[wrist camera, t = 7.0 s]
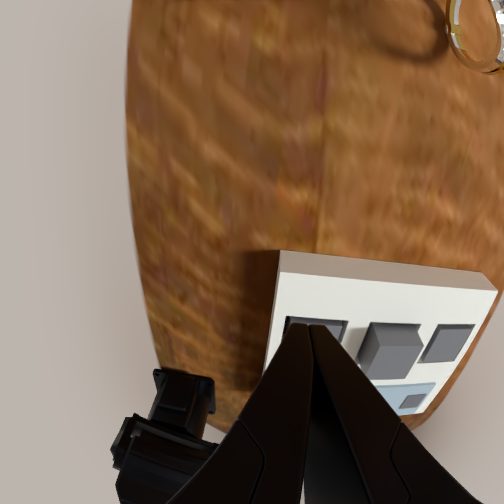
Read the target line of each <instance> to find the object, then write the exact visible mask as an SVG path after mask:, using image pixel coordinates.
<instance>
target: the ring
mask: <svg viewBox="0 0 504 504" xmlns="http://www.w3.org/2000/svg"><path fill="white" fill-rule="evenodd" d="M488 2H489V4H490V7H491V10H492V12H493V15H494V19H495V23H496V27H497V44H496V47H495V49H494V51H493V52H492V54H491V55H490V56H489V57H487V58H486V59H484V60H482V61H478V62H476V61H474V60H473V59H472V58H471V57H470V56H469V55H468V54H467V52H466V51H465V49H464V47H463V45H462V42H461V39H460V36H461V27H460V26H459V25H458V13H459V7H460V3H461V0H447V2H446V13H445V20H446V24H444V31H445V34H447V37H448V41H449V44H450V47H451V49H452V51H453V53H454V55H455V56H456V58H457V59H458V60H459V61H460V62H461V63H462V64H463V65H464V66H466V67H468V68H470V69H472V70H474V71H477V72H480V73H482V74H486V75H499V74H502V73H504V0H488Z"/></svg>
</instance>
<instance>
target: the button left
mask: <svg viewBox="0 0 504 504" xmlns="http://www.w3.org/2000/svg"><path fill="white" fill-rule="evenodd" d="M293 322H297V323H306V324H308V325H309V324H322V325H325V326H326V327H327V328H328V329H329V330H330V332H331V333H332V334H333V335H334V337H335V338H336V339H337V340H338V338H339V335H340V332H341V329H342V322H341V320H333V319H319V318H307V317H296V316H287V319H286V325H285V330H284V336H285V334H286V332H287V330H288V328H289V326H290V325H291V323H293Z"/></svg>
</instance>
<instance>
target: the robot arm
mask: <svg viewBox="0 0 504 504" xmlns="http://www.w3.org/2000/svg"><path fill="white" fill-rule="evenodd" d="M153 377H154V381H155V385H156V388H157V395H156V397H155V400H154V402H153V405H152V408H151V410H150V413H149V415H148V418H147V419H145V418H143V417H141V416H139V415H138V414H136V413H134V414H133V417H125V420H124V422H123V425H122V427H121V429H120V431H119V433H118V435H117V437H116V439H115V441H114V442H113V444H112V446H111V449H110V451H111V453H112V455H113V461H114V464H113V468H115V469H117V470H119V471H120V472H119V475H118V478H117V481H116V484H115V485H116V490H117V494H118V497H119V501H120V504H300V499H301V492H302V485H303V478H304V496H305V504H483V503H481V502H480V501H478V500H477V499H476V498H474V497H473V496H472V495H471V494H470V493H469V492H468V491H467V490H466V489H465V488H464V487H463V486H462V485H461V484H460V483H458V481H457V480H456V479H455V478H454V477H453V476H451V474H449V472H448V471H447V470H445V468H444V467H442V466H441V465H440V464H439V463H438V461H437V460H436V459H435V458H434V457H433V456H432V455H431V454H430V453H429V452H428V451H427V450H426V449H425V448H424V446H423V445H422V444H421V443H420V442H419V440H418V439H417V438H416V437H415V436H414V435H413V433H412V432H411V431H410V429H409V428H408V427H407V426H406V424H405V423H404V422H401V421H402V420H401V418H400V417H399V416H398V415H397V413H396V412H395V411H394V410H393V408H392V407H391V406H390V405H389V403H388V402H387V401H386V400H385V398H384V397H383V396H382V395H381V393H380V392H379V391H378V390H377V388H376V387H375V386H374V385H373V383H372V382H371V381H370V380H369V378H368V377H367V376H366V375H365V374H364V372H363V371H362V370H361V369H360V367H359V366H358V365H357V364H356V362H355V361H354V360H353V359H352V357H351V356H350V355H349V354H348V352H347V351H346V350H345V349H344V348H343V346H342V345H341V344H340V343H339V341H338V340H337V339H336V338H335V337H334V335H333V334H332V333H331V332H330V330H329V329H328V328H327V327H326V326H325V325H322V324H309V325H308V324H306V323H297V322H293V323H291V325H290V326H289V328H288V330H287V332H286V334H285V336H284V338H283V339H282V341H281V343H280V345H279V347H278V349H277V350H276V352H275V354H274V356H273V358H272V359H271V361H270V363H269V365H268V367H267V368H266V370H265V372H264V374H263V375H262V377H261V379H260V381H259V382H258V384H257V386H256V387H255V389H254V391H253V393H252V394H251V396H250V398H249V399H248V401H247V403H246V404H245V406H244V408H243V409H242V411H241V413H240V414H239V416H238V417H237V420H236V421H235V422H234V423H233V425H232V427H231V428H230V430H229V431H228V433H227V434H226V436H225V437H224V439H223V440H222V442H221V443H220V444H217V443H211V442H208V441H204V440H202V437H203V433H204V428H205V424H206V420H207V415H208V414H215V411H216V406H215V381H214V380H212V379H209V378H203V377H197V376H191V375H186V374H180V373H175V372H170V371H165V370H161V369H154V371H153ZM132 436H133V437H132Z"/></svg>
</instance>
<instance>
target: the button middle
mask: <svg viewBox="0 0 504 504" xmlns="http://www.w3.org/2000/svg"><path fill="white" fill-rule="evenodd" d="M423 347H424V345H423V342H422V340H421V338H420V336H419V334H418V332H417V330H416V328H415V326H414V324H412V323H384V322H370V324H369V326H368V329H367V331H366V334H365V336H364V339H363V341H362V344H361V346H360V349H359V351H358V353H357V354H358V359H359V363H360V367H361V370H362V371H363V372H364V374H365V375H366V376H367V377H368V378H369V380H392V379H405V378H406V376H407V375H408V373H409V371H410V370H411V368H412V366H413V365H414V363H415V361H416V359H417V358H418V356H419V354H420V352H421V350H422V349H423Z"/></svg>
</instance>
